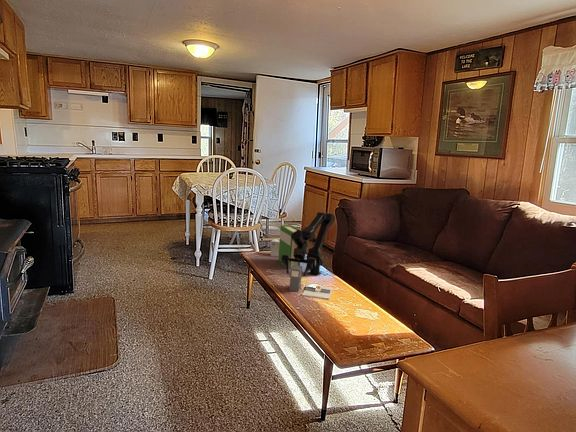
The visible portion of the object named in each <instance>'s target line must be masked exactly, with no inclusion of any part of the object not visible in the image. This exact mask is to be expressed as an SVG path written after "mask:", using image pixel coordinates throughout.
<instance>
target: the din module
mask: <svg viewBox="0 0 576 432" xmlns="http://www.w3.org/2000/svg"><path fill="white" fill-rule="evenodd" d="M302 275H303V266H301V265H300V266H294V265H293V266H292V268H290V275H289V278H290V279H289V291H294V292H299V291H300V289H301V287H302Z"/></svg>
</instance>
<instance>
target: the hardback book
mask: <svg viewBox="0 0 576 432" xmlns="http://www.w3.org/2000/svg"><path fill="white" fill-rule="evenodd" d="M297 230H300V228H297V227H295V226H294V225H291V224H290V225H289V224H285V225H284V224H283V225H280V230H279V240H280V244H279V257H278V262H279V263H281V265H283V266H284V267H285V268H286V265H284V263H282V260H281V257H282V255H283V254H284V255H289V256H290V258H294V256H293V255H294V254H293V253H294V248H296V247H297V245H296V244H295V243H294V241H293V240H292V238H291V234H292V233H293V232H295V231H297ZM289 264H290V266H289V270H291V268H292V266H293V265H294V266H301V263H300V262H292V261H290V263H289Z"/></svg>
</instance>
